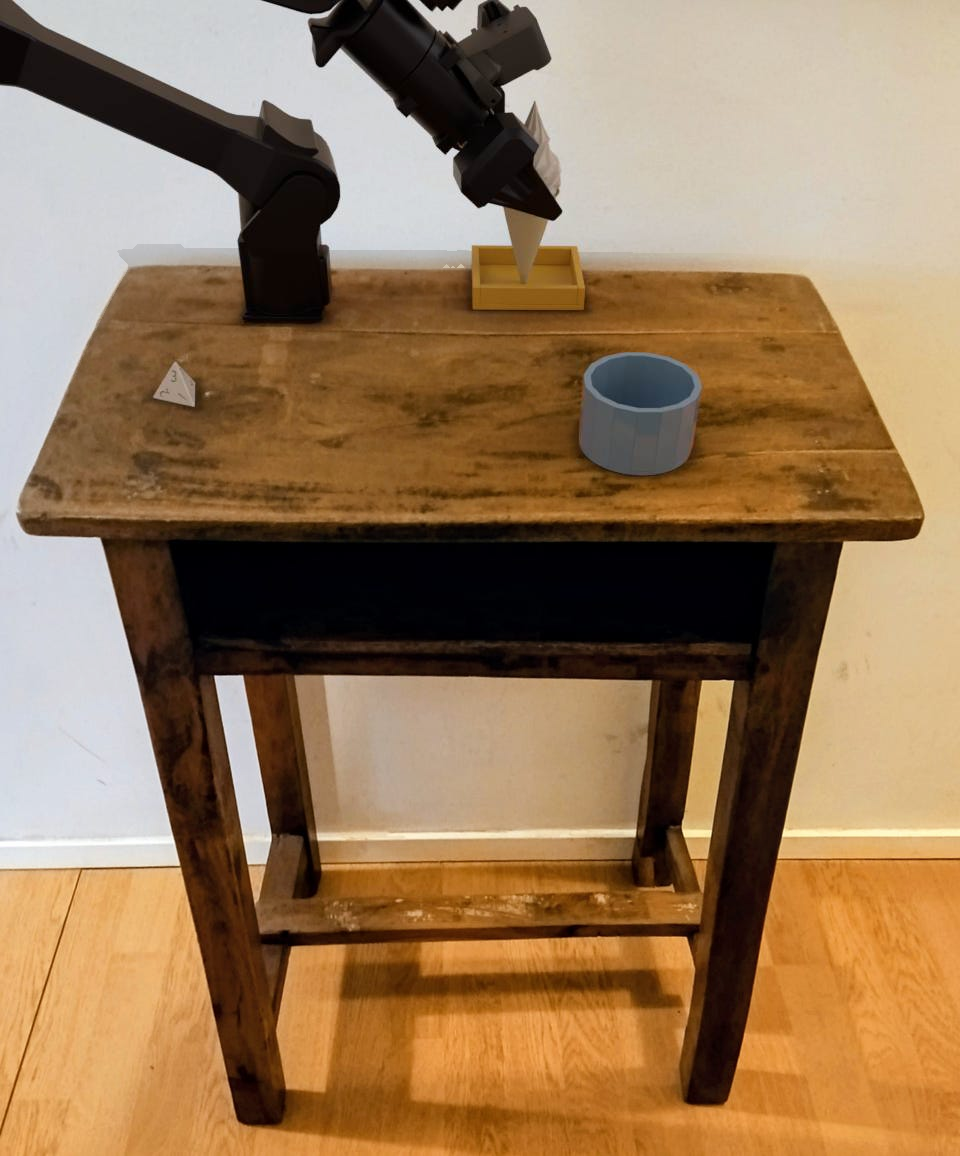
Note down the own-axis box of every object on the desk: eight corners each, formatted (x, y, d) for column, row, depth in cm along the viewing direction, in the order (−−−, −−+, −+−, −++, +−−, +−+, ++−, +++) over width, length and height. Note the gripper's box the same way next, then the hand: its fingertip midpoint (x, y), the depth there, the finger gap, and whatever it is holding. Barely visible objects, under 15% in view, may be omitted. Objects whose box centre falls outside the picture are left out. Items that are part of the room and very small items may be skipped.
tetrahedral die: (214, 401, 86) (216, 361, 85) (194, 407, 83) (195, 366, 82) (173, 392, 87) (174, 352, 85) (152, 398, 84) (153, 357, 83)
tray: (472, 309, 95) (472, 287, 94) (471, 266, 102) (471, 245, 100) (583, 310, 96) (585, 288, 94) (575, 267, 102) (577, 245, 100)
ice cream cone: (565, 282, 98) (579, 101, 89) (525, 301, 95) (536, 116, 86) (521, 264, 101) (531, 86, 91) (481, 281, 98) (487, 99, 88)
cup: (583, 475, 77) (589, 411, 74) (574, 413, 83) (579, 351, 80) (699, 475, 77) (710, 412, 74) (682, 413, 83) (691, 352, 80)
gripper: (513, 5, 75) (656, 165, 84) (462, -58, 89) (589, 84, 98) (397, 134, 79) (545, 273, 88) (366, 54, 93) (496, 181, 102)
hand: (546, 196), depth 94 cm, fingers open, 7 cm apart
